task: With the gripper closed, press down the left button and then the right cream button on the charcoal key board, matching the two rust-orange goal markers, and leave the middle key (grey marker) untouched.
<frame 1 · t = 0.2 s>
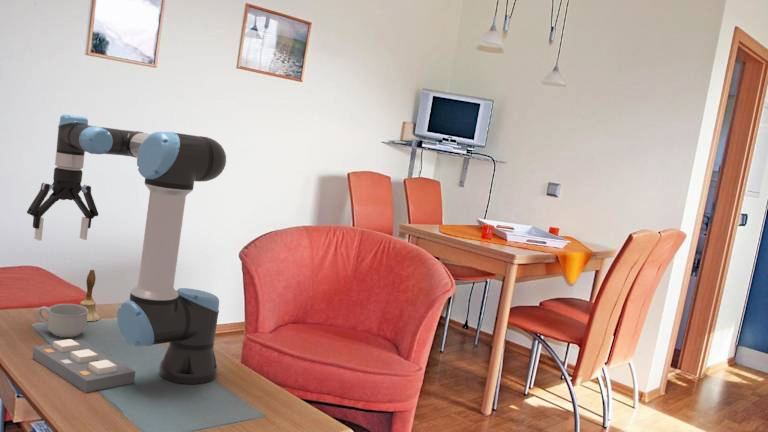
hand: (61, 239, 200), 28 cm above the table, fingers open, 13 cm apart
key board: (82, 370, 176), on the table
teacup: (60, 334, 201), on the table
button middle: (83, 357, 176), point 4 cm above the table, slide at 0.0 cm
button 1: (66, 346, 181), point 4 cm above the table, slide at 0.0 cm
button 2: (102, 368, 171), point 4 cm above the table, slide at 0.0 cm
hand bell: (86, 319, 219), on the table
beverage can: (142, 328, 218), on the table
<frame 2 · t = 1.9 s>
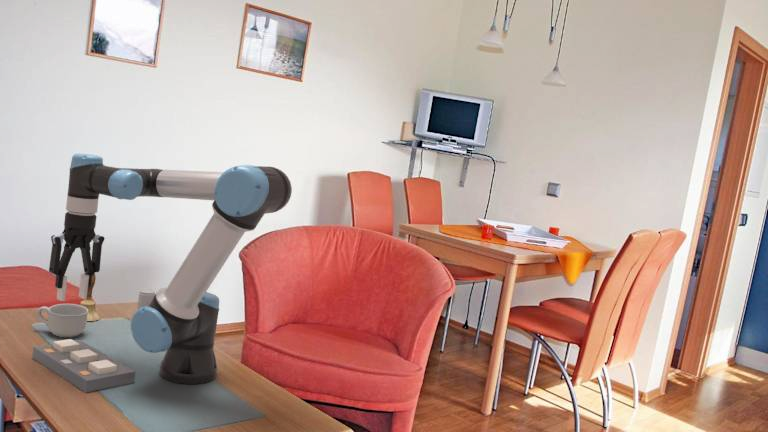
hand: (71, 298, 180), 17 cm above the table, fingers open, 5 cm apart
nothing on the table moved.
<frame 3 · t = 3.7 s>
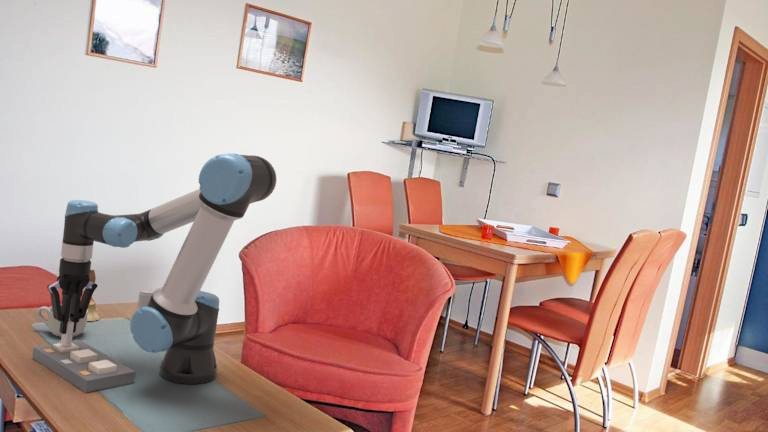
hand: (66, 344, 181), 4 cm above the table, fingers closed
button 1: (66, 349, 181), point 3 cm above the table, slide at 0.8 cm, touching gripper
everything else where it was.
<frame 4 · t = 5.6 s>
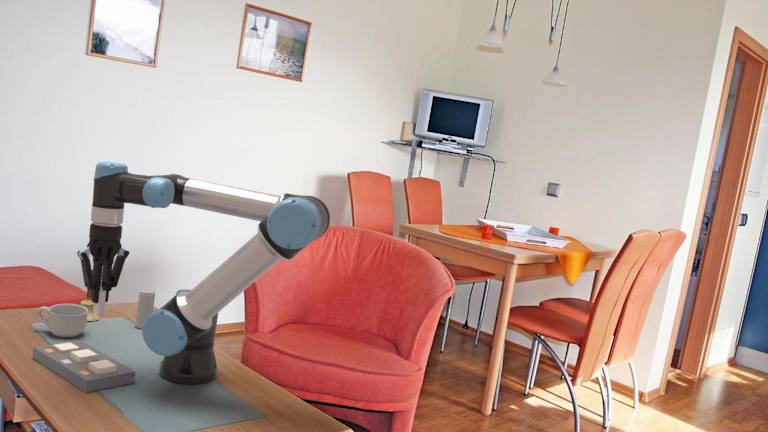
hand: (98, 314, 173), 16 cm above the table, fingers closed
button 1: (65, 350, 181), point 3 cm above the table, slide at 1.0 cm
everything else where it was.
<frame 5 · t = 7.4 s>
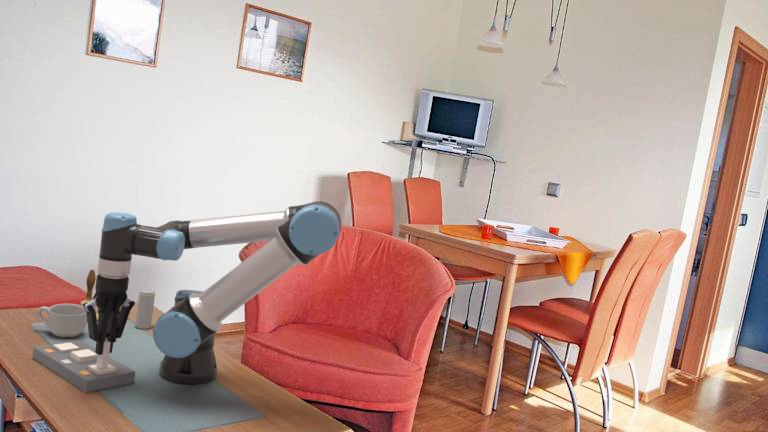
hand: (101, 366, 171), 4 cm above the table, fingers closed
button 2: (102, 371, 171), point 3 cm above the table, slide at 0.8 cm, touching gripper
everything else where it was.
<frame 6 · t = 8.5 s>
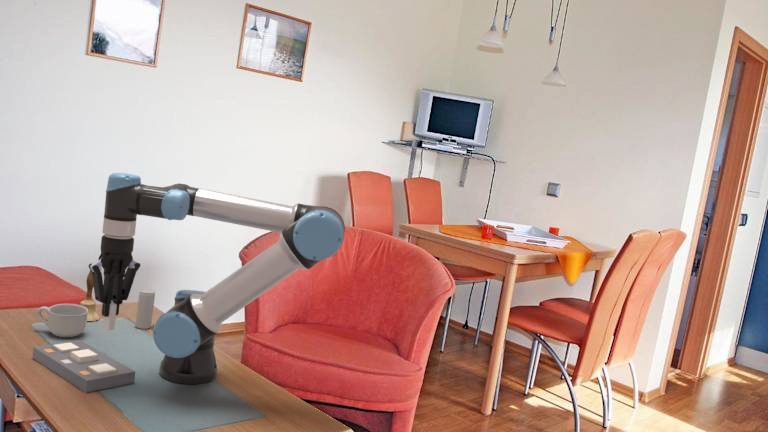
hand: (108, 328, 170), 14 cm above the table, fingers closed
button 2: (102, 371, 171), point 3 cm above the table, slide at 1.0 cm
everything else where it was.
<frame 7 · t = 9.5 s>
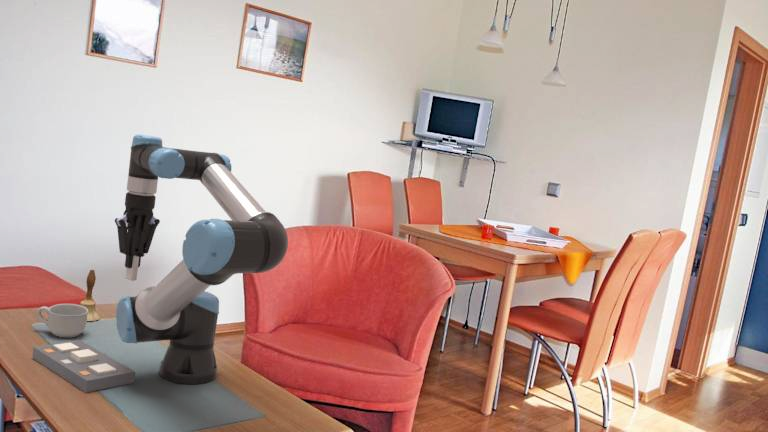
hand: (130, 279, 183), 24 cm above the table, fingers closed
nothing on the table moved.
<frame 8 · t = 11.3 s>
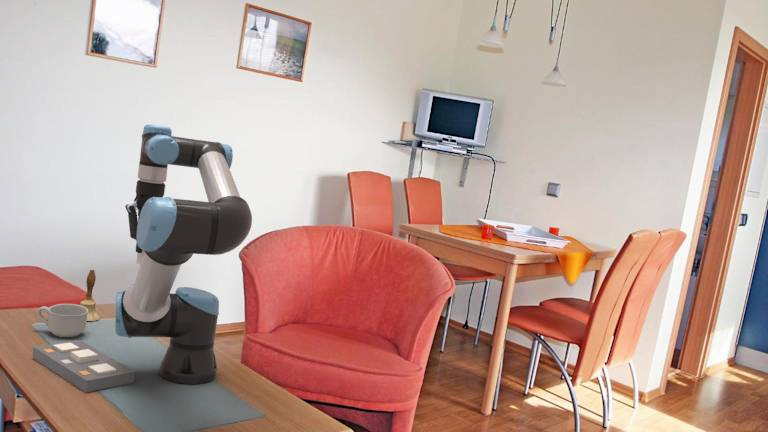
hand: (141, 263, 190), 26 cm above the table, fingers closed
nothing on the table moved.
at the end: button 1 slide at 1.0 cm; button 2 slide at 1.0 cm; button middle slide at 0.0 cm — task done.
